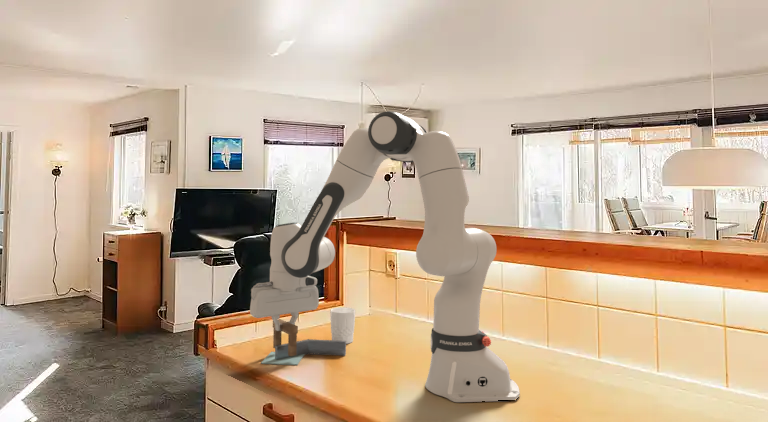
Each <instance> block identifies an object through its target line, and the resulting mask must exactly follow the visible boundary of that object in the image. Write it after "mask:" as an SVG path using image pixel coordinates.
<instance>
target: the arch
mask: <svg viewBox="0 0 768 422" xmlns="http://www.w3.org/2000/svg"><path fill="white" fill-rule="evenodd" d="M278 321H279V323H281V324H283V327H282V328H283V330H280V331H276V330H275V323H274V321H273V320H272V328H273V337H272V338H273V341H272V342H273V343H272V344H273V346H272V347H273V349H275V346H276V345H281V344H282V332H283V333H286V334H287V336H288V339H287V341H288V342H287V343H288V355H289V356H295V355H296V349H297V341H298V340H297V339H298V336H297V335H298V331H299V329H298V325H296V324H295V325H294V324H291V323H289V321H286V320H284V319H280V318H279V319H278Z"/></svg>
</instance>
